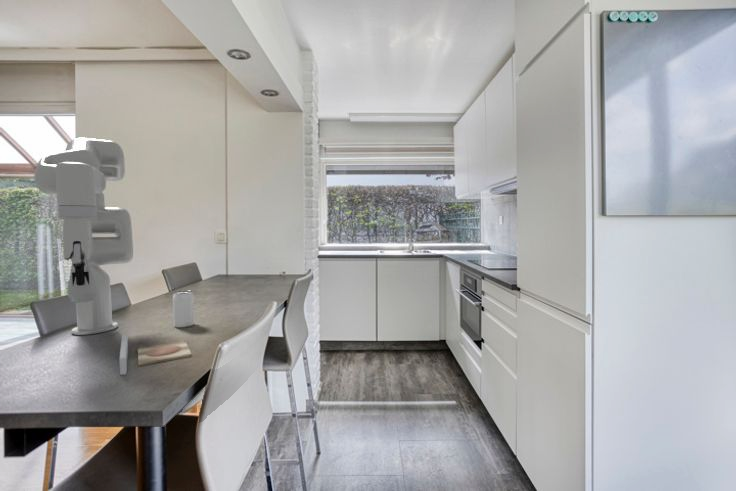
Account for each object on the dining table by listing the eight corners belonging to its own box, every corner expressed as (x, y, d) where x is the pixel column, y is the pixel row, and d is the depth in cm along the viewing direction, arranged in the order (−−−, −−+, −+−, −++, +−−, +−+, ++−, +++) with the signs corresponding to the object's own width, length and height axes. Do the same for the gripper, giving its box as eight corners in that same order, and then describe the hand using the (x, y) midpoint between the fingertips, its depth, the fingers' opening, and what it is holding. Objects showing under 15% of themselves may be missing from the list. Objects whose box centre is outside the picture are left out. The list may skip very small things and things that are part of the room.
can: (180, 329, 122) (179, 294, 121) (170, 326, 125) (168, 292, 124) (198, 324, 127) (197, 291, 127) (187, 322, 131) (186, 289, 130)
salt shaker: (103, 298, 93) (100, 248, 92) (83, 303, 87) (80, 250, 86) (82, 298, 93) (79, 248, 92) (61, 303, 88) (58, 250, 87)
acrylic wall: (122, 348, 102) (122, 335, 102) (127, 348, 103) (127, 334, 103) (120, 375, 84) (119, 358, 84) (126, 374, 85) (125, 357, 84)
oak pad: (137, 350, 101) (137, 347, 101) (185, 342, 108) (185, 339, 107) (138, 366, 89) (138, 363, 89) (191, 356, 96) (191, 353, 96)
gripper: (63, 214, 94) (68, 283, 95) (51, 213, 80) (56, 294, 81) (99, 214, 98) (103, 281, 99) (93, 213, 84) (98, 290, 85)
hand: (82, 286), depth 90 cm, fingers closed on salt shaker, 3 cm apart
